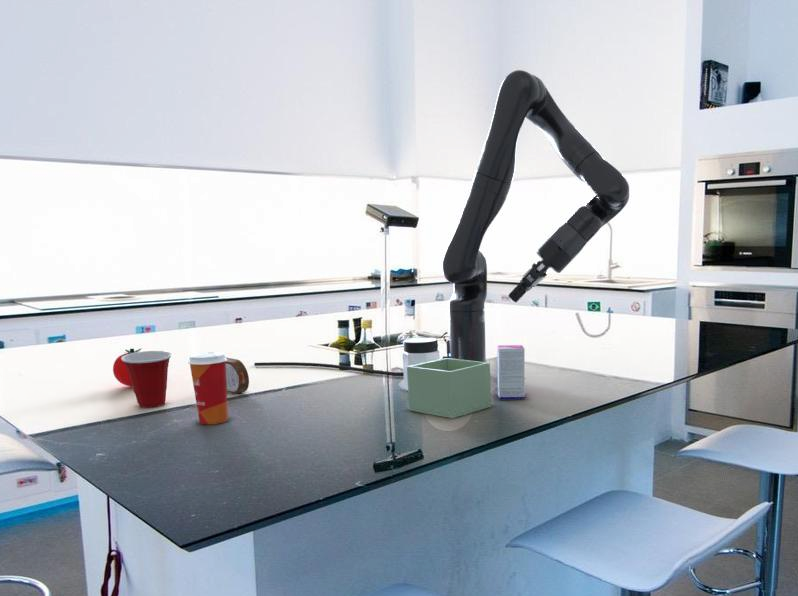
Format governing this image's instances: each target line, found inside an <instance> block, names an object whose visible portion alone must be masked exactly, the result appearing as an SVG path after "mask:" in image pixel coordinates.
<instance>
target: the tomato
mask: <svg viewBox="0 0 798 596" xmlns="http://www.w3.org/2000/svg"><path fill="white" fill-rule="evenodd" d="M142 349H143V348H142V347H141V348H138V349H136V350H135V348H129V349H124V350H125V351H124V352H123V354H119V356H117V358H116V359H115V360H114V362H113V365H112V366H113V367H112V372H113V376H114V377H115V379H116V380H117V381H118V382H119V383H120V384H122V385H124V386H127V387H132V384H131V380H130V377H129V374H128V371H127V369H126V366H125V364H124V362H123V361H122V360H121V358H122V356H125V355H127V354H131V353H136V352H141V350H142Z"/></svg>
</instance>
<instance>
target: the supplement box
mask: <svg viewBox="0 0 798 596" xmlns="http://www.w3.org/2000/svg"><path fill="white" fill-rule="evenodd" d="M497 397H498V400H499V401H507V400H524V399H525V347H524V346H523V345H522V344H515V345H513V344H512V345H500V344H499V345H497Z"/></svg>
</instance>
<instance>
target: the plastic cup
mask: <svg viewBox="0 0 798 596" xmlns="http://www.w3.org/2000/svg"><path fill="white" fill-rule="evenodd" d="M171 357H172V353H171V352H170V351H164V350H142V351H139V352H136V353H131V354H127V355H125V356H122V358H121V360H122V361H123V362H124V364H125V366H126V369H127V371H128V374H129V377H130V380H131V384H132V386H131V387H132V390H133V394H134V395H135V398H136V402H137V404H138V406H139V408H155V407H161V406H164V405H166V401H167V400H166V399H167V389H168V374H169V373H168V372H169V363H170V358H171Z"/></svg>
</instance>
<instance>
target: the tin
mask: <svg viewBox="0 0 798 596" xmlns="http://www.w3.org/2000/svg"><path fill="white" fill-rule="evenodd" d="M225 358H227V361H226V383H227V393H229V394H232V395H233V394H234V395H236V394H240V393H245V392H246V391H247V390H248V389H249V385H250V377H249V372H248V369H247V368H246V366H245V364H244V363H243V361H241V360H240V359H237V358H231V357H226V356H225Z"/></svg>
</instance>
